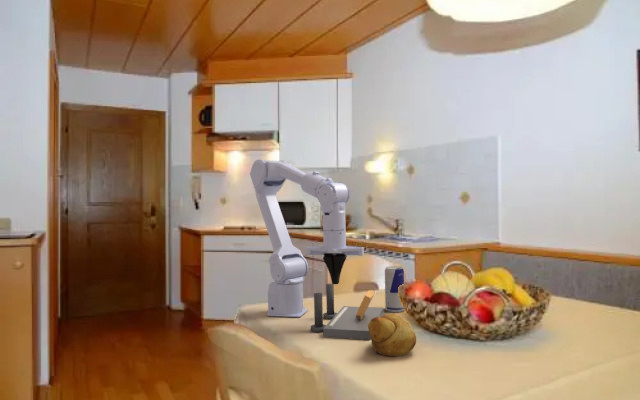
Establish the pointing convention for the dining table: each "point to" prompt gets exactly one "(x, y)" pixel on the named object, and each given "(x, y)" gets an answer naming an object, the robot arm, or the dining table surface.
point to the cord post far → (329, 302)
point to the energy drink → (393, 288)
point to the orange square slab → (364, 305)
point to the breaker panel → (351, 323)
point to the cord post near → (318, 314)
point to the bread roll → (391, 335)
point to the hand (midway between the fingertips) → (335, 283)
